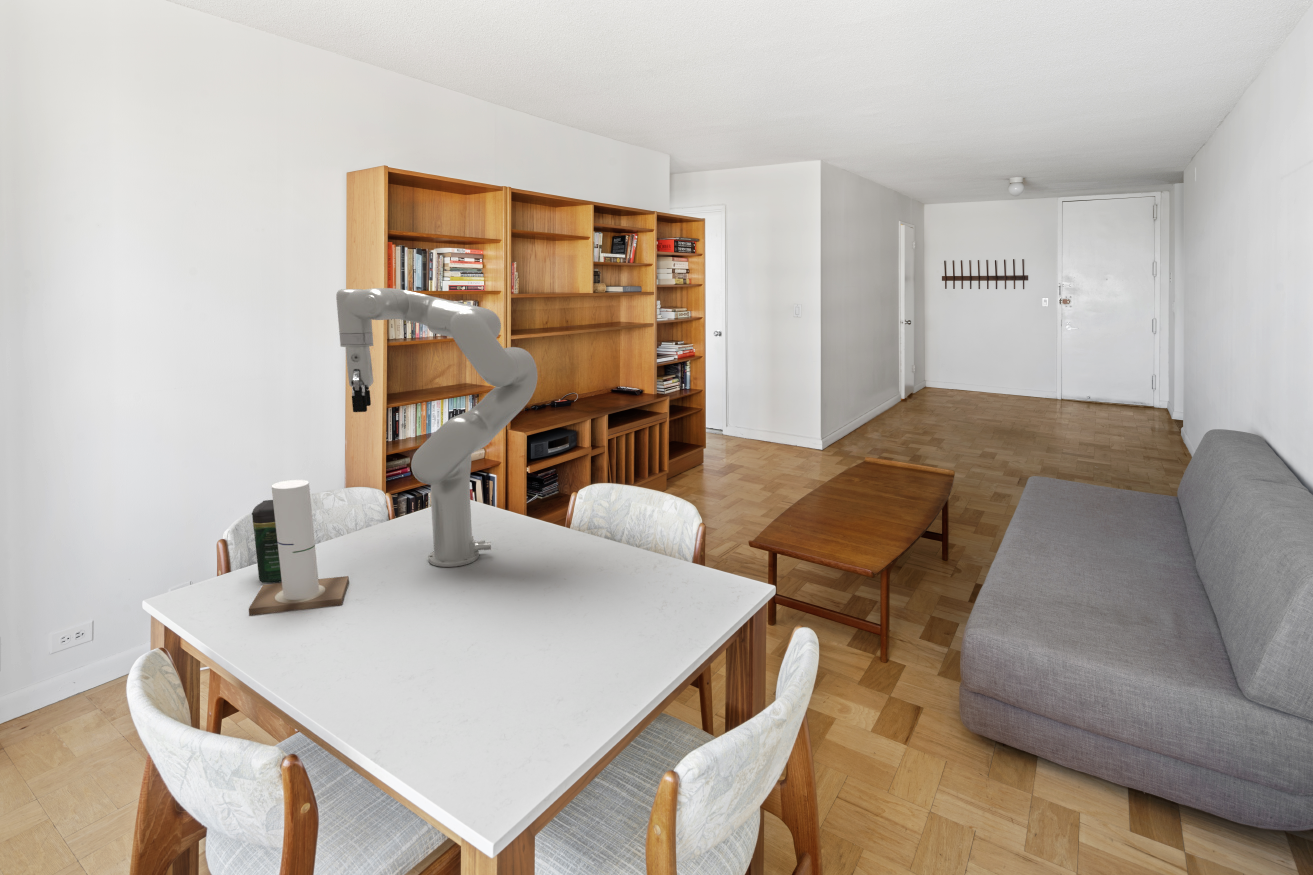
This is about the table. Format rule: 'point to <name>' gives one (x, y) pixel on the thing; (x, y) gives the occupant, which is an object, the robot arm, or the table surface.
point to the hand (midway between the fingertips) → (362, 408)
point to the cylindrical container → (295, 539)
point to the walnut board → (274, 600)
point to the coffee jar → (266, 542)
